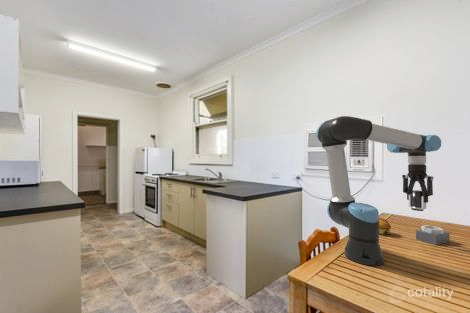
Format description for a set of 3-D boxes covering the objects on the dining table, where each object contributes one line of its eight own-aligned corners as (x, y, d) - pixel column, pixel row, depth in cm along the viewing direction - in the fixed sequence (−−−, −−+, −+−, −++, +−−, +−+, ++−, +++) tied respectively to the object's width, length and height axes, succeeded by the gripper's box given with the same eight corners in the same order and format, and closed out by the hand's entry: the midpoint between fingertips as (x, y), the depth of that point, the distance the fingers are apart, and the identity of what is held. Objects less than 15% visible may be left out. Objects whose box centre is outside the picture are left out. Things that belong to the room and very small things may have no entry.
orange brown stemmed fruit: (383, 229, 138) (385, 215, 136) (393, 239, 128) (396, 224, 126) (366, 228, 139) (368, 214, 137) (375, 238, 129) (377, 223, 127)
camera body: (435, 245, 114) (435, 231, 114) (416, 239, 122) (415, 226, 122) (449, 241, 119) (449, 228, 119) (429, 236, 127) (429, 224, 127)
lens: (420, 211, 114) (420, 191, 114) (408, 209, 118) (408, 190, 119) (426, 210, 116) (426, 191, 116) (414, 208, 120) (414, 189, 121)
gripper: (442, 164, 110) (442, 210, 110) (402, 163, 127) (403, 203, 127) (433, 164, 108) (434, 211, 107) (394, 163, 124) (394, 204, 124)
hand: (417, 207), depth 117 cm, fingers closed on lens, 5 cm apart
